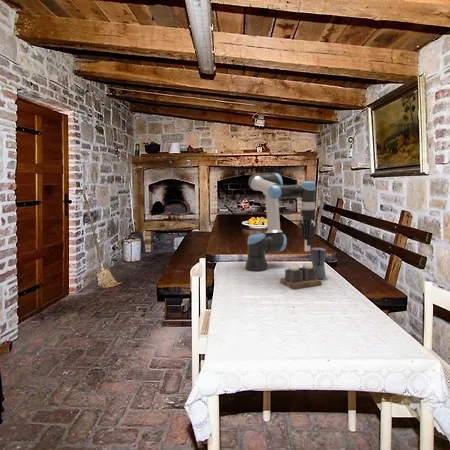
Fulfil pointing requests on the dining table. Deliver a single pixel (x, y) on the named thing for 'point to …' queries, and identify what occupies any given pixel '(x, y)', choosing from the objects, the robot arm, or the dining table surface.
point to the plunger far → (307, 266)
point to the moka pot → (318, 261)
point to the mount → (300, 278)
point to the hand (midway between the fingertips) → (307, 250)
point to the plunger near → (293, 267)
